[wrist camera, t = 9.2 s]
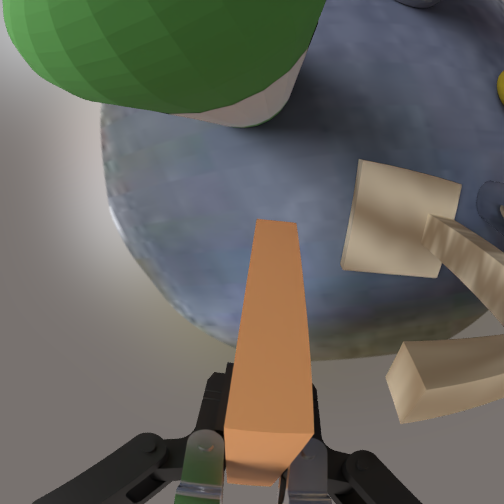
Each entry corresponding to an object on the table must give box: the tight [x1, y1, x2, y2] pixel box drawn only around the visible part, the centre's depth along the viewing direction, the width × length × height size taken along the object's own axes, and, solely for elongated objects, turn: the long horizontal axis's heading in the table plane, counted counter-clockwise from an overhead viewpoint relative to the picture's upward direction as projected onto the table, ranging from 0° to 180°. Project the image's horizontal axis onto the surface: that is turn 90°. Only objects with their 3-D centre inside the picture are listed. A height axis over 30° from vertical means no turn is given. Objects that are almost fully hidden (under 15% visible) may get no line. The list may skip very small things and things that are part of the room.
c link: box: [224, 219, 314, 486], centre depth 12 cm, size 8×2×10 cm, turn 176°
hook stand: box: [340, 159, 504, 424], centre depth 15 cm, size 10×14×20 cm
